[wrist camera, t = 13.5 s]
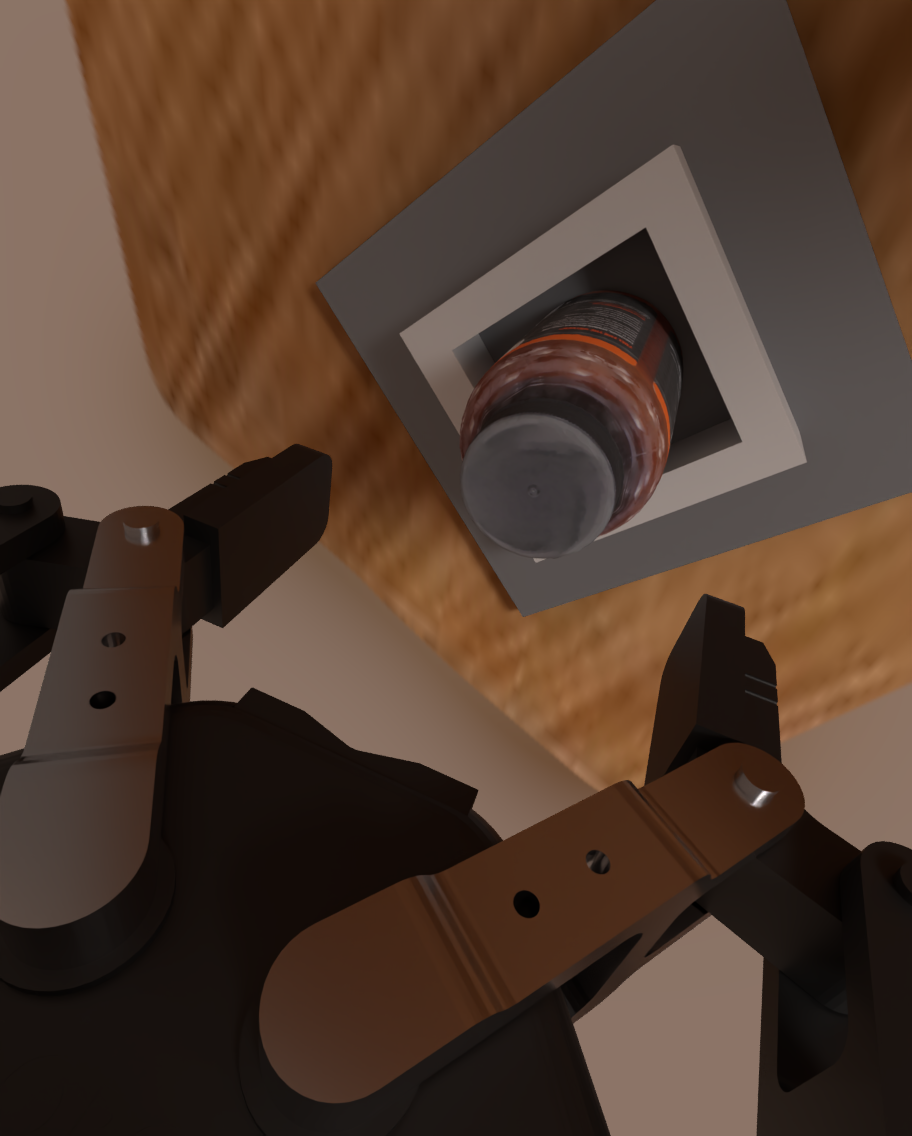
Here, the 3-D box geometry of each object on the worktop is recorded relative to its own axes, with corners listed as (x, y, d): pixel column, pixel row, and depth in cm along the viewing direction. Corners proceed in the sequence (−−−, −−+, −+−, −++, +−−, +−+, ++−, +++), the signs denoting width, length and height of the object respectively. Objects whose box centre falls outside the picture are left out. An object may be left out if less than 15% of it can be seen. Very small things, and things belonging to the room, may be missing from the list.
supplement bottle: (509, 316, 25) (385, 404, 16) (666, 261, 22) (625, 330, 13) (552, 458, 27) (466, 604, 18) (699, 424, 24) (682, 576, 16)
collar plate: (756, -73, 18) (760, -123, 15) (945, 467, 23) (978, 516, 20) (327, 279, 28) (275, 294, 25) (527, 606, 33) (506, 653, 30)
